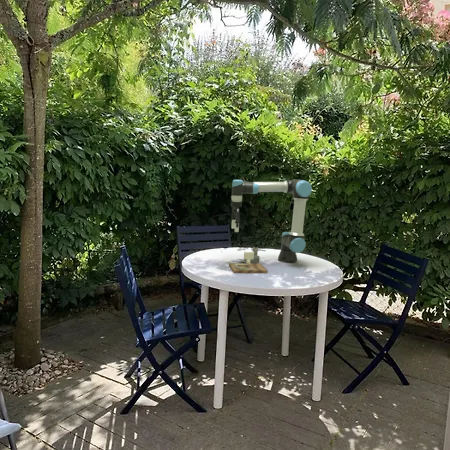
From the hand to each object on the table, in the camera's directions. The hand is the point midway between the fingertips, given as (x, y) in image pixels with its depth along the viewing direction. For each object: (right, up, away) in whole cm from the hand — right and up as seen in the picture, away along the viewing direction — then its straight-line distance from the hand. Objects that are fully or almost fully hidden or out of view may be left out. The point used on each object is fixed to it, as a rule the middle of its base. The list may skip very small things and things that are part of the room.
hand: (234, 230), depth 306 cm
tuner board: (+9, -28, -6) cm, 30 cm away
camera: (+12, -25, +14) cm, 31 cm away
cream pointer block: (+7, -26, -4) cm, 27 cm away
